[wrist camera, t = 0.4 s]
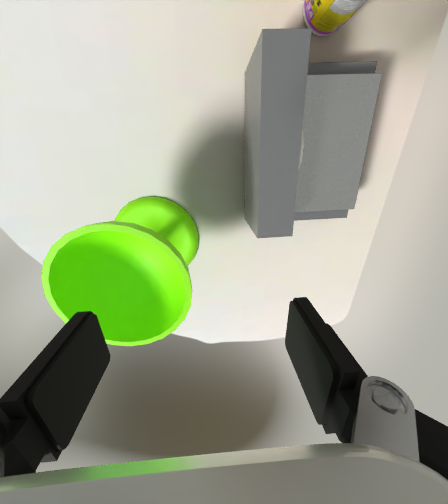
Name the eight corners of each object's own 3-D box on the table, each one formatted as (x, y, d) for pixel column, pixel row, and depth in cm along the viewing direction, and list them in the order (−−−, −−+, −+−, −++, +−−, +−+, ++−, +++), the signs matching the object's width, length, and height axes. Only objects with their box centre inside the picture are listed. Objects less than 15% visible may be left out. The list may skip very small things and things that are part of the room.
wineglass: (214, 251, 42) (217, 310, 25) (149, 288, 44) (113, 363, 28) (166, 178, 36) (129, 192, 19) (93, 225, 38) (5, 273, 22)
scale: (244, 73, 31) (262, 28, 21) (362, 70, 32) (434, 26, 22) (244, 218, 40) (257, 238, 29) (337, 213, 40) (380, 230, 30)
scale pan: (289, 78, 28) (293, 75, 27) (375, 76, 29) (382, 73, 28) (280, 211, 35) (283, 212, 34) (349, 207, 36) (354, 208, 35)
